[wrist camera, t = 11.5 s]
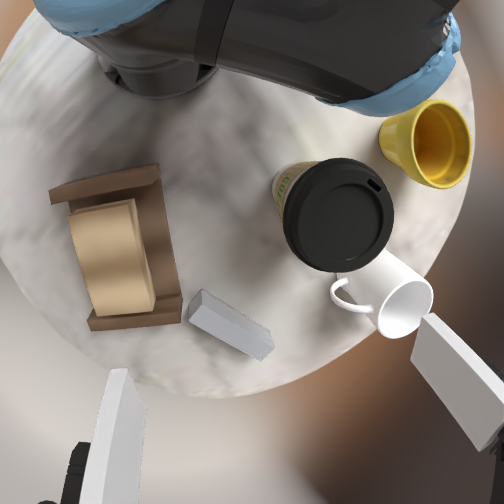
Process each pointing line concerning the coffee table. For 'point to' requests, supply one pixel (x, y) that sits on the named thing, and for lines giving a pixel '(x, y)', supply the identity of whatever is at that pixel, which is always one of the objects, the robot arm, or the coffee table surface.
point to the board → (113, 258)
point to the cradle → (153, 235)
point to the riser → (230, 325)
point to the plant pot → (429, 143)
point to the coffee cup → (333, 213)
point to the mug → (386, 294)
